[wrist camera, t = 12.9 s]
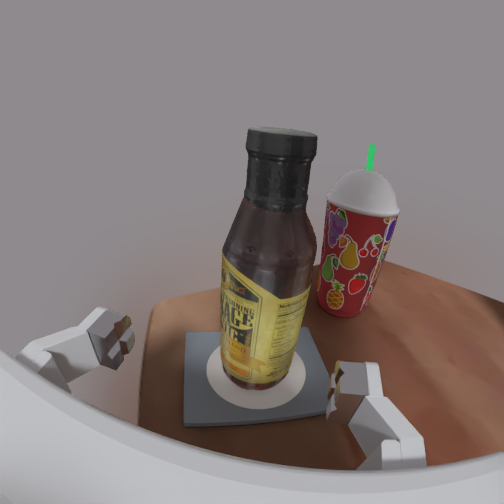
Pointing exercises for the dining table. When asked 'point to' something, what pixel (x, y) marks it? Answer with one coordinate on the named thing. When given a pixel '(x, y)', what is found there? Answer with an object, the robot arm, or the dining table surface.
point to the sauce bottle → (268, 260)
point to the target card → (250, 401)
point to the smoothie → (355, 239)
